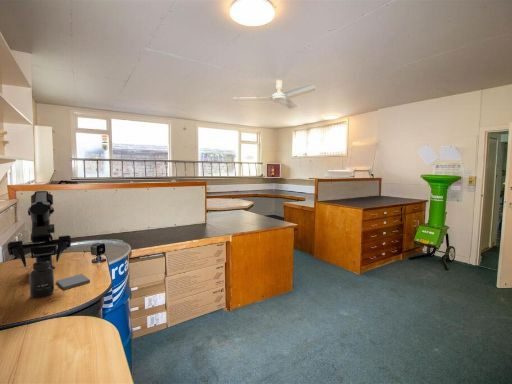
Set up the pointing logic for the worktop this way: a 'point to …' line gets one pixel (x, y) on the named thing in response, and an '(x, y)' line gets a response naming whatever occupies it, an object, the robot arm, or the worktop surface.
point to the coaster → (72, 281)
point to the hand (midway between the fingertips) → (41, 264)
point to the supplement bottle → (41, 280)
